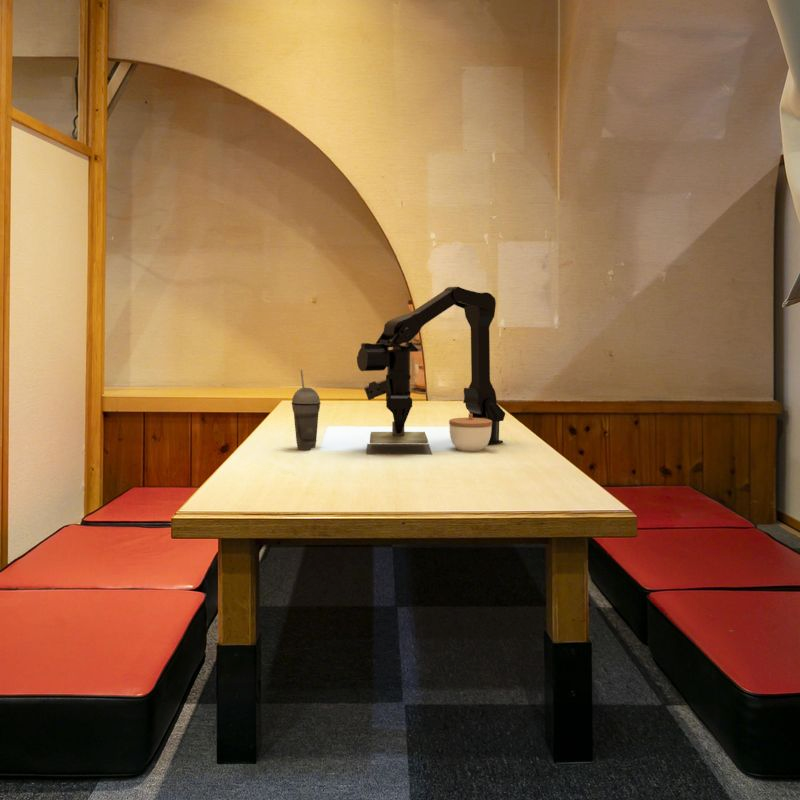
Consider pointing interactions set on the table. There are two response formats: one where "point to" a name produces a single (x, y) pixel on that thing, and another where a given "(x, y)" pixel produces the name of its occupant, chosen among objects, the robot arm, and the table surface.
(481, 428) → the lidded jar
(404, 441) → the lid
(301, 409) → the beverage cup
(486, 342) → the robot arm
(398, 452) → the mat
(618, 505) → the table surface
